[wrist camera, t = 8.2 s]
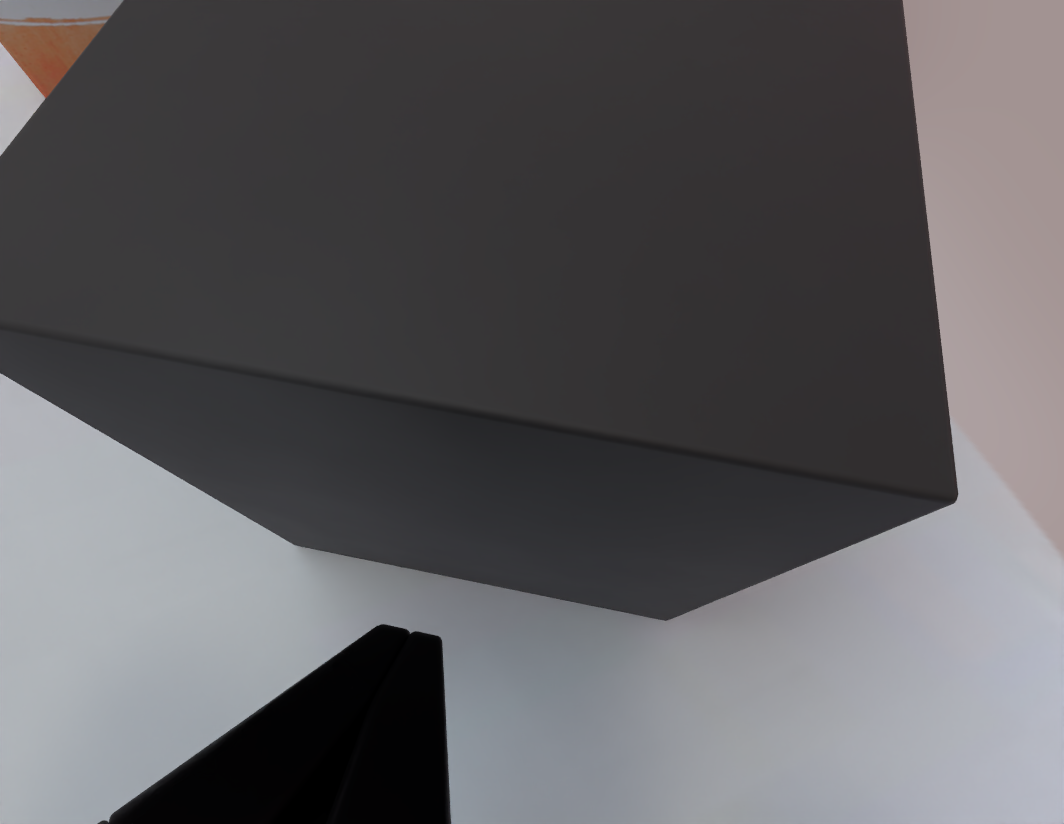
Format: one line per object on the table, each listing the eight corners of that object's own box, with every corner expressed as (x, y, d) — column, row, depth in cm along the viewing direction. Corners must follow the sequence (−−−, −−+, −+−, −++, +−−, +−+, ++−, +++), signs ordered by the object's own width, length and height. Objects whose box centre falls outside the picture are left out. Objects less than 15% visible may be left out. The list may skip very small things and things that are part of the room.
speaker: (689, 626, 15) (1031, 516, 5) (293, 545, 16) (-123, 303, 6) (724, 169, 21) (901, -278, 11) (444, 127, 22) (379, -328, 12)
